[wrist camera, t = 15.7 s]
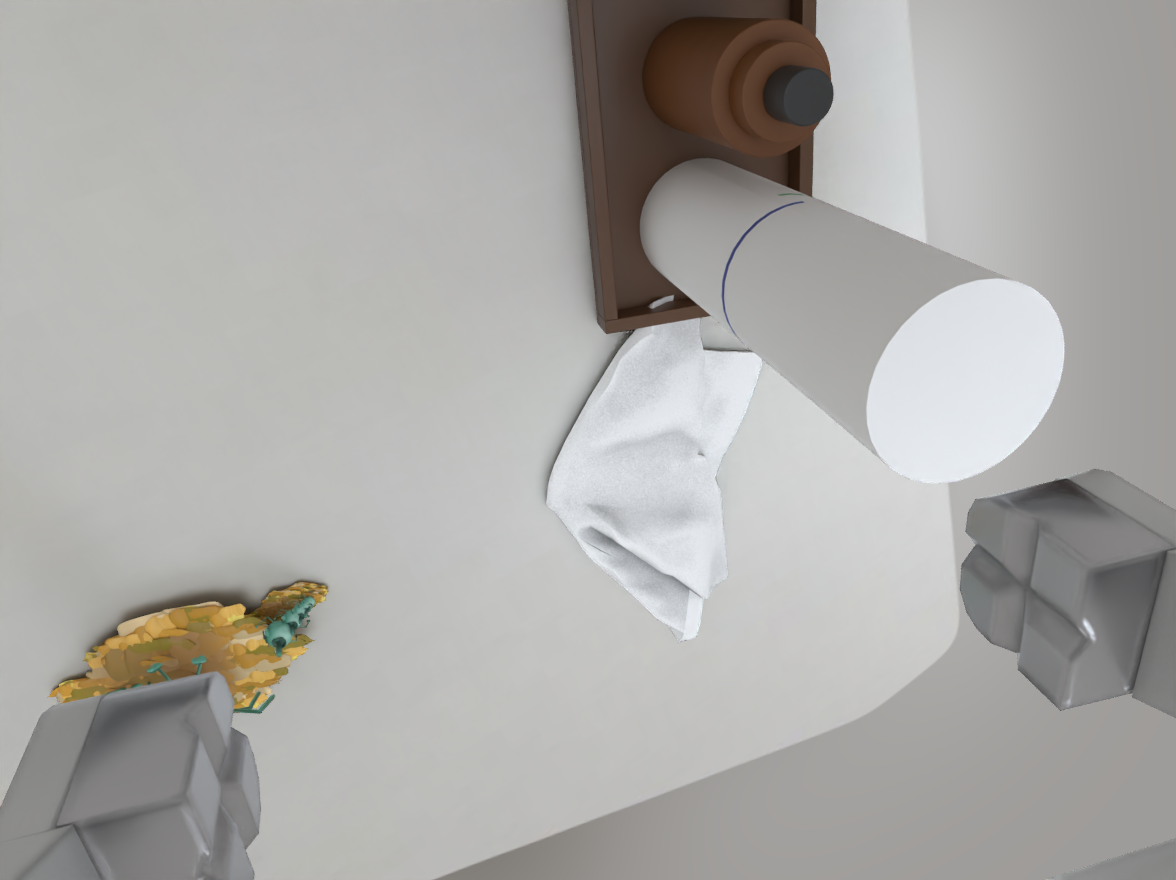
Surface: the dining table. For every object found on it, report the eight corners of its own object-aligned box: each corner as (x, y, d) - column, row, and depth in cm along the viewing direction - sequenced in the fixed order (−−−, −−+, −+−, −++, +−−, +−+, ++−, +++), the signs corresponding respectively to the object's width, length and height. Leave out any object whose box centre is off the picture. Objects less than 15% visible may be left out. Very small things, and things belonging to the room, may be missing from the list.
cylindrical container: (625, 183, 49) (852, 325, 27) (744, 140, 49) (1062, 245, 27) (656, 301, 52) (880, 513, 30) (768, 259, 53) (1066, 438, 31)
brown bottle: (638, 22, 45) (741, 28, 34) (741, 11, 46) (876, 12, 34) (645, 136, 48) (743, 179, 36) (742, 123, 49) (869, 160, 37)
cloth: (561, 287, 50) (570, 299, 49) (780, 290, 54) (797, 302, 52) (533, 651, 62) (539, 673, 60) (716, 634, 65) (728, 654, 63)
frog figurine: (368, 666, 59) (345, 864, 46) (101, 732, 58) (2, 950, 46) (319, 552, 54) (278, 736, 41) (28, 623, 54) (-106, 831, 41)
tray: (550, -178, 41) (559, -187, 39) (802, -197, 43) (821, -205, 42) (597, 323, 52) (606, 334, 51) (795, 289, 55) (810, 298, 53)
